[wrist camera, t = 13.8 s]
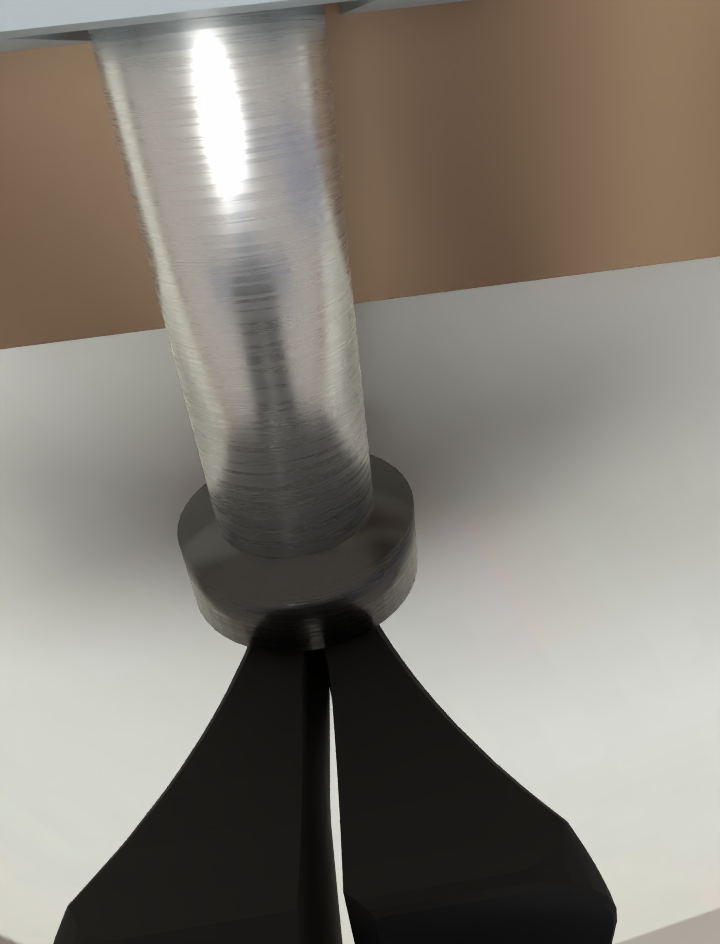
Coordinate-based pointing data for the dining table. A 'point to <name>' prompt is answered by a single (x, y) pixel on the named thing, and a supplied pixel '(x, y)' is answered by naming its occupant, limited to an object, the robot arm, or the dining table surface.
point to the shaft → (260, 323)
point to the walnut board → (403, 157)
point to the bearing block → (138, 15)
